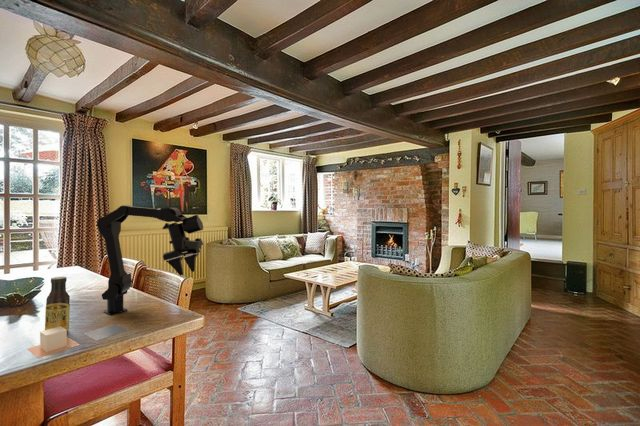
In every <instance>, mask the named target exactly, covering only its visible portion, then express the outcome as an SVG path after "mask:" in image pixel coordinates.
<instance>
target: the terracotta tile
mask: <svg viewBox="0 0 640 426" xmlns="http://www.w3.org/2000/svg"><path fill="white" fill-rule="evenodd" d="M80 345H81V344H80V343H78V342H76V341H75V340H74V339H72V338H70V337H68V336H67V346H64V347H61V348H58V349H55V350H52V351H48V352H45V351H44V350H43V349H41V348H40V344H38V345H36V346H31V347H29V348H26V350H27V351H29V353H31V354H32V355H34V356H35V357H36V358H37V359H39V358H43V357H46V356H49V355H53V354H56V353H59V352H61V351H64V350H68V349H72V348H75V347H77V346H80Z"/></svg>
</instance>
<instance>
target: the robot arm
mask: <svg viewBox="0 0 640 426" xmlns="http://www.w3.org/2000/svg"><path fill="white" fill-rule="evenodd" d="M130 216H133V217H146V218H153V219H157V220H159V221H163V222H166V223H164V225H163V226H162V230H168V234H169V238H170V241H169V245H172V249H173V250H170V251H167V252H164V253H163V255H162V259H163V261H164V262H165V261H166V263H168V264H169V265H170V267H172V268H173V270H174V271H176V273H178V275H179V276H184V270H183V263H182V261H183V259H184V261H185V263H186V264H187V266H188V268H189V270H190V272H192V273H193V272H195V269H196V258H197V257H198V255H199V254H200V253H201V250H202V246H203V245H204V243H203V240H202V238H195V240H192V239H191V240H190V237H187V236H186V233H187V234H188V235H189V234H193V233H197V232H200V231H203V230H204V223H203V221H202V220H201V218H200V217H199V215H198V214H194V215H192V216H189V217H187V216H185V215H184V214H182V213H181V210H180V209H179V208H178V207H165V208H164V207H163V208H155V207H154V208H153V207H141V206H133V205H132V206H131V205H128V204H126V205H125V204H124V205H120V206H118V207H117V208H116V209H114V210H113V211H111V212H109V213H107V214H106V215H105V216H101V217H99V218H98V220H97V222H96V227H97V230H98V232H99V234H100V236H102V238H103V239H104V243H105V247H106V249H105V250H106V254H107V260H108V265H109V266H108V267H109V271H110V274H109V277H108V282H107V283H108V284H107V287H108V288H107V289H106V290H105V291H104V292H103V293H101V298H102V300H104V301H106V309H105V310H103V313H105V314H108V315H110V316H111V315H115V314H119V313H122V312H126V311H128V308H125V307H124V300H125V299H124V295H126V294H128V290H130V289H131V288H132V284H133V283H134V282H133V279H132V273H131V272H129V273H127V271H126V270H125V267H124V261H123V255H122V254H123V253H122V250H121V249H122V248H121V243H120V234H121V231H122V223H124V222H125V221H126V220H127V219H128V217H130ZM171 222H172V223H171Z"/></svg>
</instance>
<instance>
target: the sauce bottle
mask: <svg viewBox="0 0 640 426" xmlns="http://www.w3.org/2000/svg"><path fill="white" fill-rule="evenodd" d="M50 284H51V287H50V292H49V293H48V296H47V297H46V300H45V312H44V313H45V316H44V317H45V319H44V321H45V322H44V331H45V330H48V329H52V328H56V327H60V326H61V327H63V328H64V329H66V330H67V335H68V334H69V331H70V309H71V308H70V306H71V304H70V300H71V299H70V294H69V293H68V292H67V290H66V289H67V288H66V285H67V277H66V276H56V277H55V276H54V277H51V278H50Z"/></svg>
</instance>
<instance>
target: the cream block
mask: <svg viewBox="0 0 640 426" xmlns="http://www.w3.org/2000/svg"><path fill="white" fill-rule="evenodd" d="M39 335H40V336H39V337H40V339H39V341H40V342H39V343H40V344H39V345H40V348H41V349H43V350H44V351H45V352H48V351H52V350H55V349H58V348H61V347H64V346H67V337H68V334H67V330H66V329H64V328H63V327H61V326H60V327H56V328H52V329H48V330H45V329H44V330H41V331H39Z"/></svg>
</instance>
